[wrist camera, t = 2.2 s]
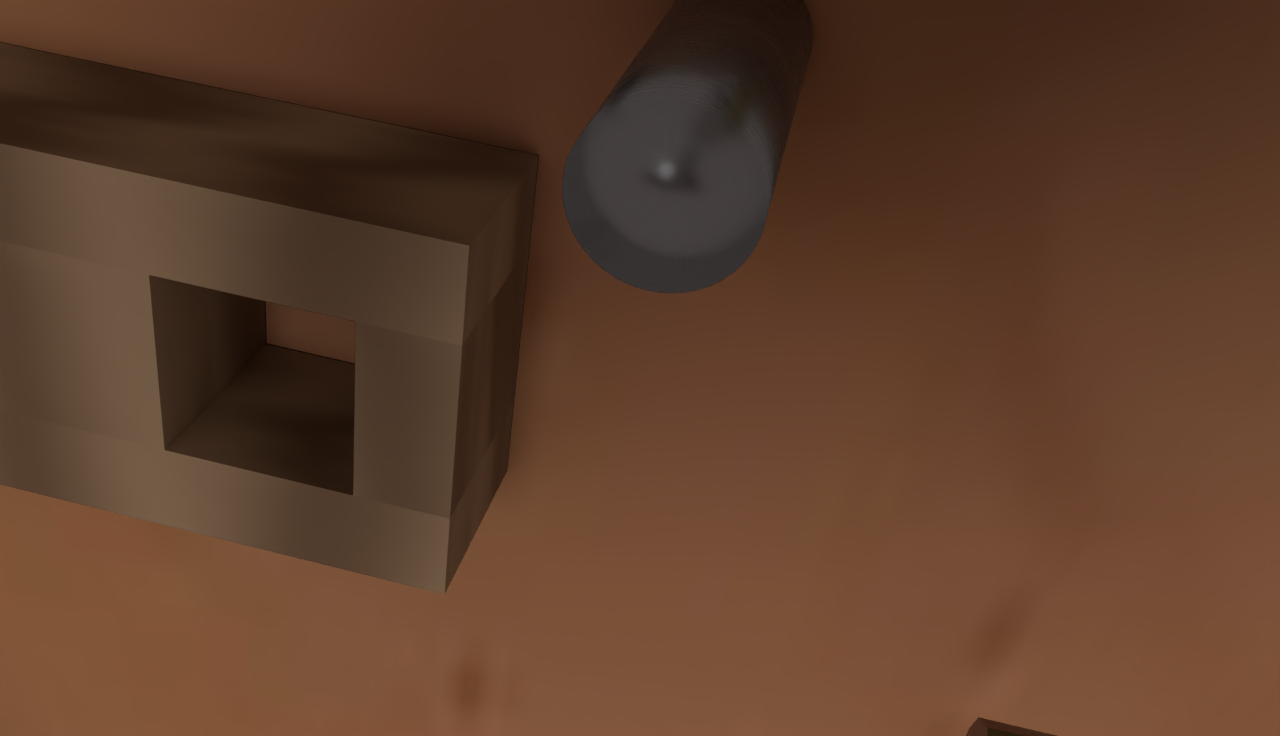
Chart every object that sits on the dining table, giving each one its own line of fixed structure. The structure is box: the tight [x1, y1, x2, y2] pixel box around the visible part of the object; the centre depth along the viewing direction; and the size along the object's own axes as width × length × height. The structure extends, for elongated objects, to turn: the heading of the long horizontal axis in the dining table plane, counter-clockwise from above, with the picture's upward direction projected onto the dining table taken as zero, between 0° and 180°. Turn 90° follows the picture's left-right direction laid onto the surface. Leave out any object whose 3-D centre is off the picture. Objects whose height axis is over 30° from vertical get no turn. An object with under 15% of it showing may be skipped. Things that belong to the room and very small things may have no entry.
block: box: [0, 43, 539, 594], centre depth 28 cm, size 20×9×5 cm, turn 82°
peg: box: [562, 0, 812, 293], centre depth 21 cm, size 3×3×9 cm
